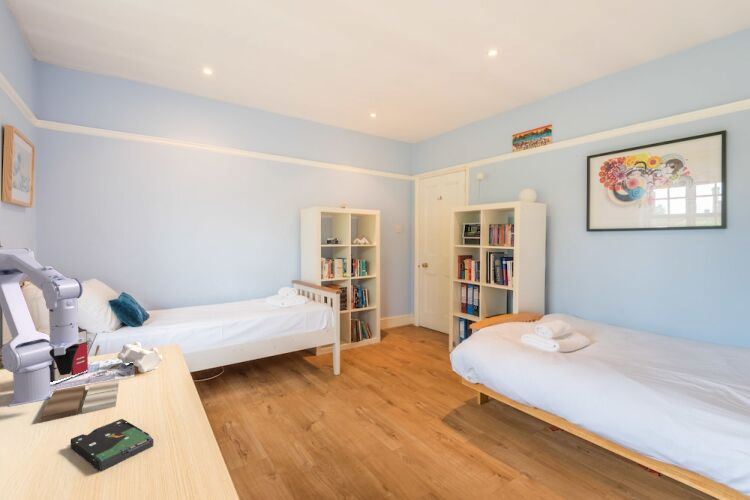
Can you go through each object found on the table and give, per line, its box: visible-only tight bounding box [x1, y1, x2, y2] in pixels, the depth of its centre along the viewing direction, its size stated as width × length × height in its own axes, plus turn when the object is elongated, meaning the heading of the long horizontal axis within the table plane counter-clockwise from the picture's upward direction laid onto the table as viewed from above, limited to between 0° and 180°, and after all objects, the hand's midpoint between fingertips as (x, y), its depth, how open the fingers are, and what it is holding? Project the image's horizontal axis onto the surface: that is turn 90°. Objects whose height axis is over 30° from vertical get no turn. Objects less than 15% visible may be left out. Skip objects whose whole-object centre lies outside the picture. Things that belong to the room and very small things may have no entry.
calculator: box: [49, 328, 89, 382], centre depth 112 cm, size 11×4×15 cm, turn 168°
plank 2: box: [81, 390, 118, 414], centre depth 96 cm, size 8×7×2 cm
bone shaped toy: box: [117, 341, 163, 374], centre depth 122 cm, size 15×9×8 cm, turn 58°
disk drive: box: [70, 418, 154, 473], centre depth 77 cm, size 10×3×15 cm
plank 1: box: [86, 379, 120, 396], centre depth 103 cm, size 8×7×2 cm
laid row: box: [39, 385, 86, 424], centre depth 95 cm, size 17×7×2 cm, turn 34°
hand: (65, 373), depth 94 cm, fingers closed
